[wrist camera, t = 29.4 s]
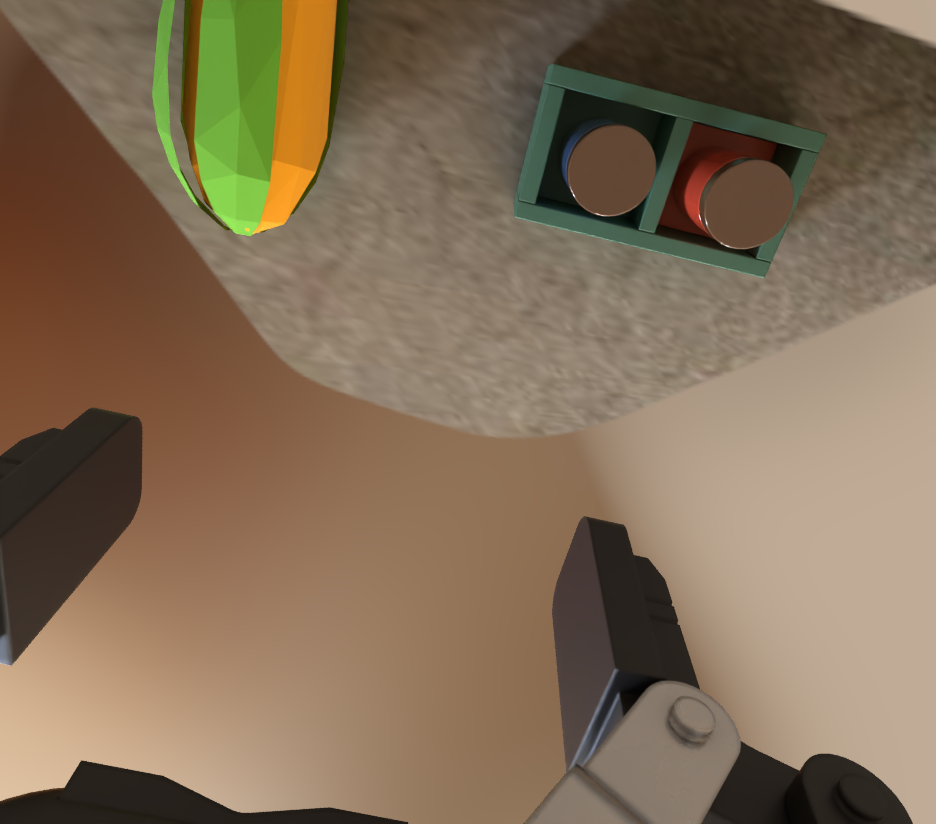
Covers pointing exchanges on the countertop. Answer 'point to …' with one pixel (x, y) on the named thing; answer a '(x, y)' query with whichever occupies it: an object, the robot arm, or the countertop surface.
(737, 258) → the caddy
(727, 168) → the red pot
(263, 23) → the corn
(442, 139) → the countertop surface
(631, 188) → the blue and brown cylinder
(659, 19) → the countertop surface
